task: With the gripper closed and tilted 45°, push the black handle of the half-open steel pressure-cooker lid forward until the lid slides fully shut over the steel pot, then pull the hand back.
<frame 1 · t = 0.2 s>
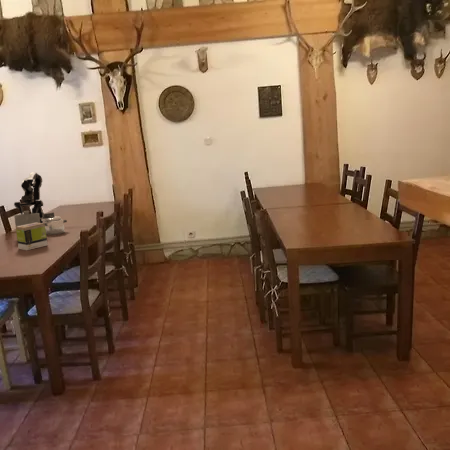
hand: (28, 215, 368), 15 cm above the table, tool tilted 30°, fingers open, 9 cm apart
hip flask: (29, 239, 358), on the table
cooker pot: (55, 232, 377), on the table
tea box: (33, 247, 334), on the table
cooker lid: (51, 216, 379), point 11 cm above the table, slide at 5.0 cm
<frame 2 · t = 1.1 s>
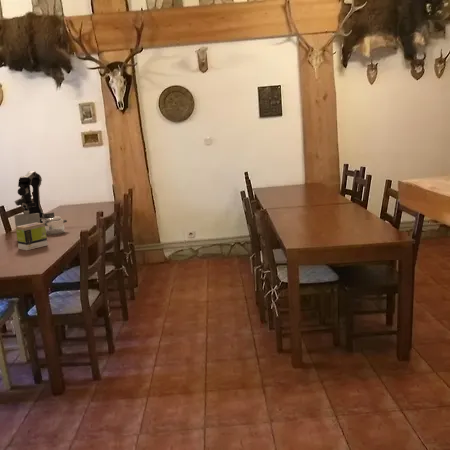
hand: (29, 215, 377), 13 cm above the table, tool pointing down, fingers open, 7 cm apart
nothing on the table moved.
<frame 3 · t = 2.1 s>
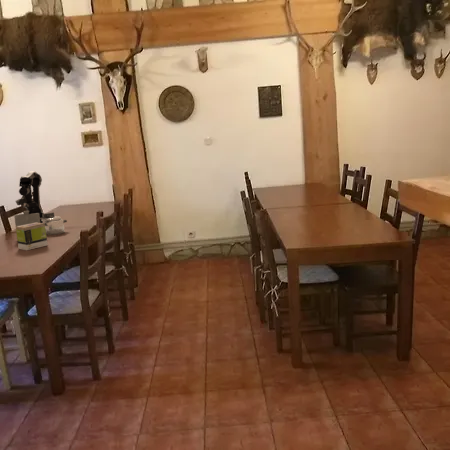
hand: (29, 215, 377), 13 cm above the table, tool pointing down, fingers closed
nothing on the table moved.
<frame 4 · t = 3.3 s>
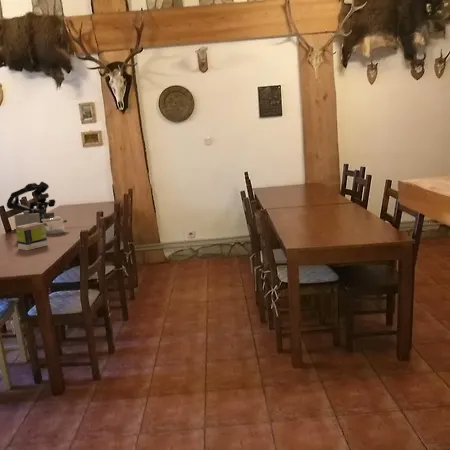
hand: (45, 212, 387), 13 cm above the table, tool tilted 45°, fingers closed
nothing on the table moved.
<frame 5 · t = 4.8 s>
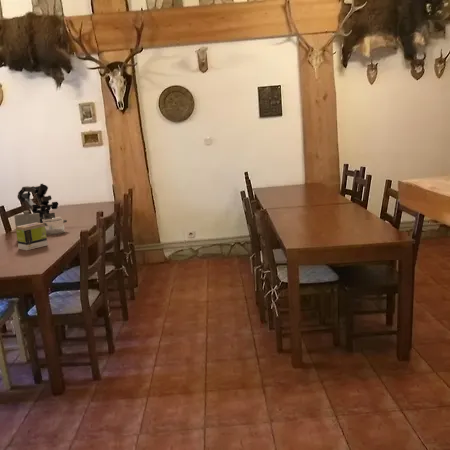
hand: (48, 215, 383), 12 cm above the table, tool tilted 45°, fingers closed, pressing on cooker lid
cooker lid: (51, 217, 378), point 11 cm above the table, slide at 3.7 cm, touching gripper
everything else where it was.
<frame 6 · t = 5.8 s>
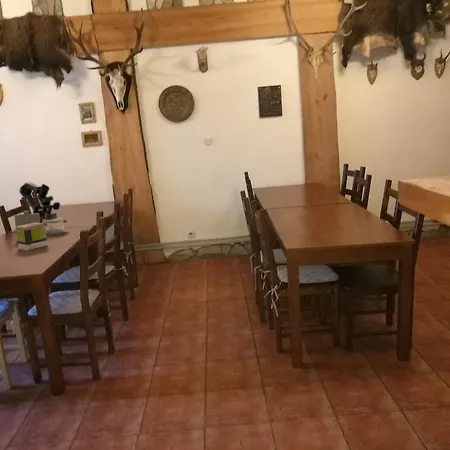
hand: (50, 216, 380), 11 cm above the table, tool tilted 45°, fingers closed, pressing on cooker lid
cooker lid: (53, 217, 375), point 11 cm above the table, slide at 0.0 cm, touching gripper
everything else where it was.
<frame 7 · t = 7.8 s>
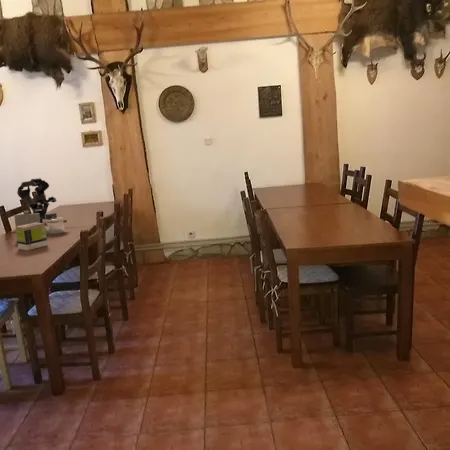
hand: (45, 213, 387), 12 cm above the table, tool tilted 25°, fingers closed
cooker lid: (53, 217, 375), point 11 cm above the table, slide at 0.0 cm
everything else where it was.
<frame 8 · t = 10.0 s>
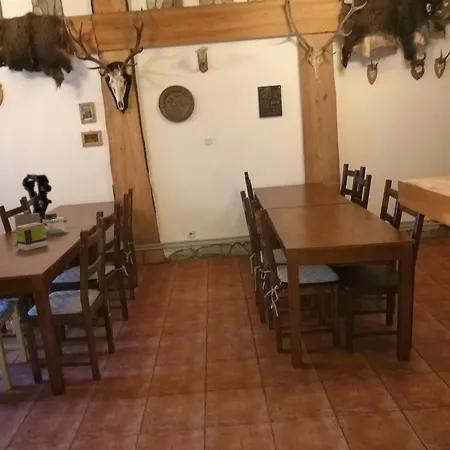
hand: (44, 212, 389), 13 cm above the table, tool pointing down, fingers closed
nothing on the table moved.
at the end: cooker lid slide at 0.0 cm; hip flask moved 0.2 cm from its start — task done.
